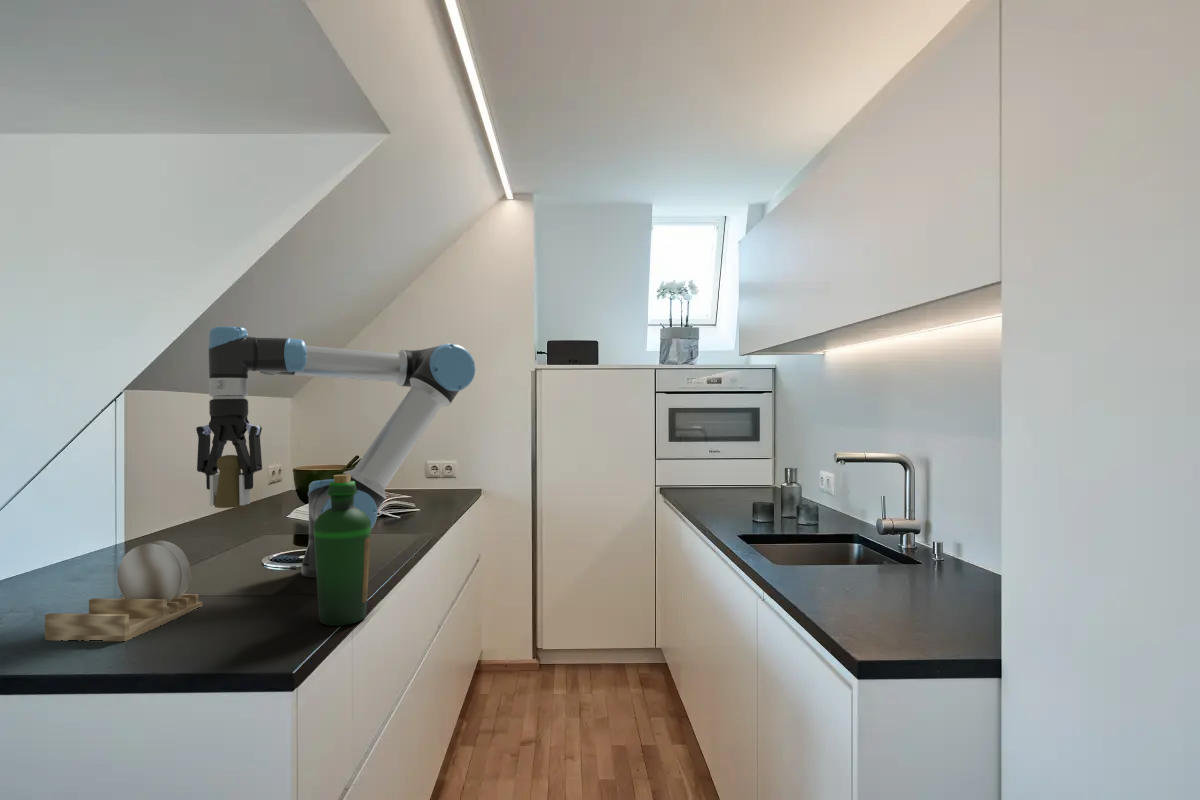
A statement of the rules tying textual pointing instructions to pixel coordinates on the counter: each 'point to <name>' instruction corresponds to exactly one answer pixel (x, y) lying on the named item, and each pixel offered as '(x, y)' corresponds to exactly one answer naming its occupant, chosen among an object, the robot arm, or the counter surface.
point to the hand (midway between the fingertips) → (230, 504)
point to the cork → (228, 482)
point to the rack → (133, 598)
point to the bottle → (342, 556)
